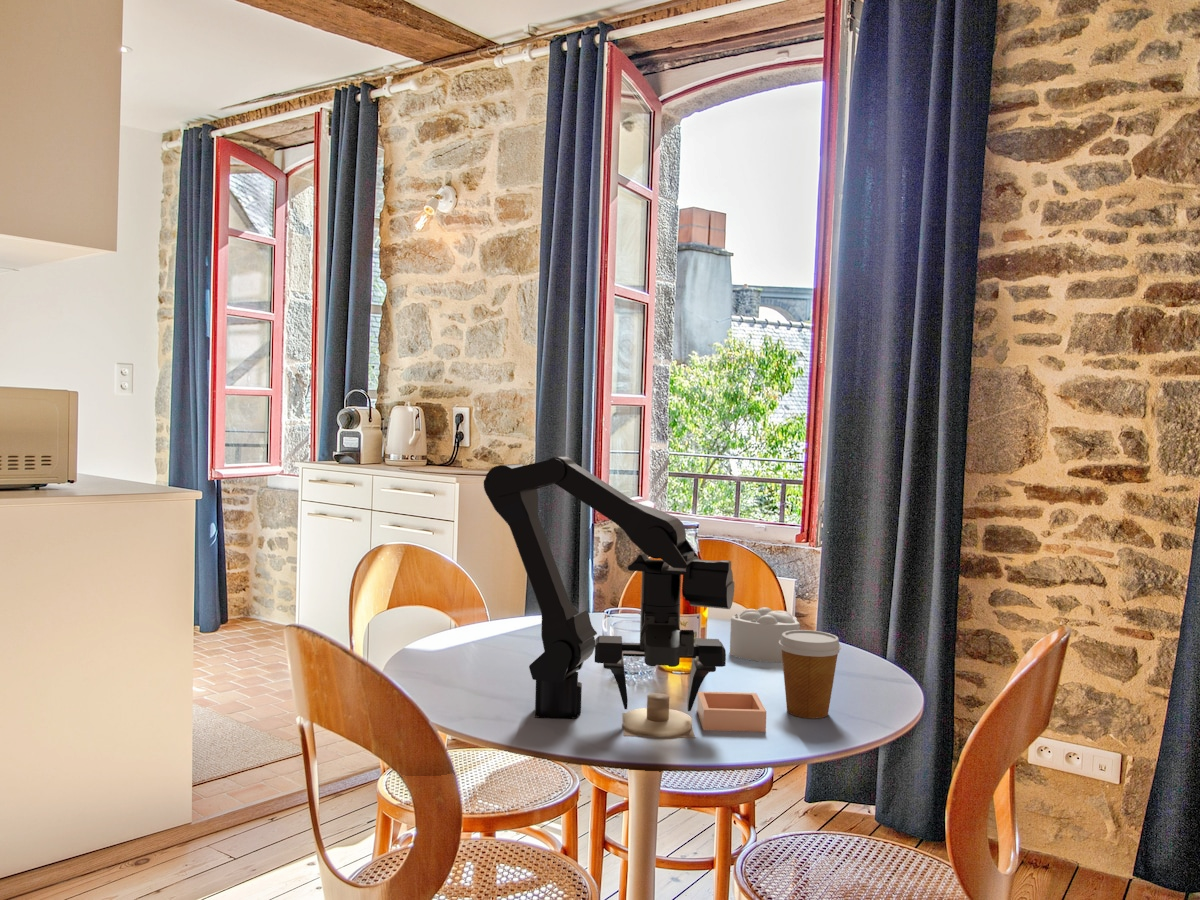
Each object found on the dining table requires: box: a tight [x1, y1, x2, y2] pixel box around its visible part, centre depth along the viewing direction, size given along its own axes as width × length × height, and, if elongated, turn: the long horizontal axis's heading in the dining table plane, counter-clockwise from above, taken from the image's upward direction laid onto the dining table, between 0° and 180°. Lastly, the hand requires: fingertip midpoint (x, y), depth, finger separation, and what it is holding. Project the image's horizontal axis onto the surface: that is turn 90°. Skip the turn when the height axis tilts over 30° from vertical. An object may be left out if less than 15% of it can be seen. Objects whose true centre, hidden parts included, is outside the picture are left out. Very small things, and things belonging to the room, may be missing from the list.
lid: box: [622, 692, 693, 738], centre depth 135 cm, size 10×10×4 cm
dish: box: [696, 691, 767, 733], centre depth 138 cm, size 9×9×4 cm
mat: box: [622, 712, 696, 739], centre depth 135 cm, size 10×10×1 cm
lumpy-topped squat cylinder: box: [729, 606, 801, 663], centre depth 180 cm, size 10×13×9 cm
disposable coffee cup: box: [779, 629, 842, 719], centre depth 144 cm, size 10×10×12 cm
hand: (657, 709), depth 135 cm, fingers open, 9 cm apart
